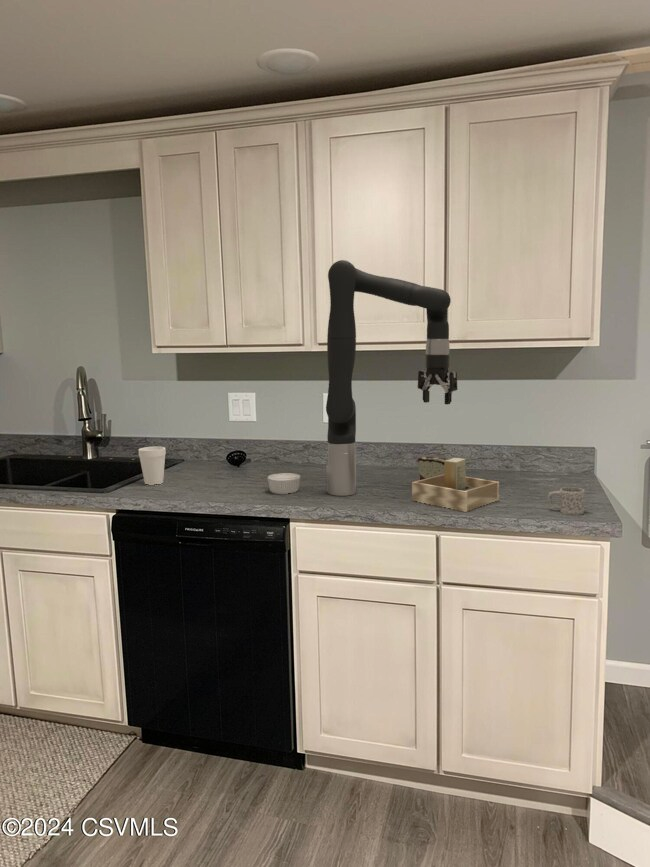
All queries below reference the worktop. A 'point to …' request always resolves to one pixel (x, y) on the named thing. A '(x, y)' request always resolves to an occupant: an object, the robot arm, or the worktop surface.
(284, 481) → the ramekin
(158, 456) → the foam cup
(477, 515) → the worktop surface
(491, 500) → the walled box
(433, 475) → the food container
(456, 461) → the skincare box
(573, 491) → the mug
